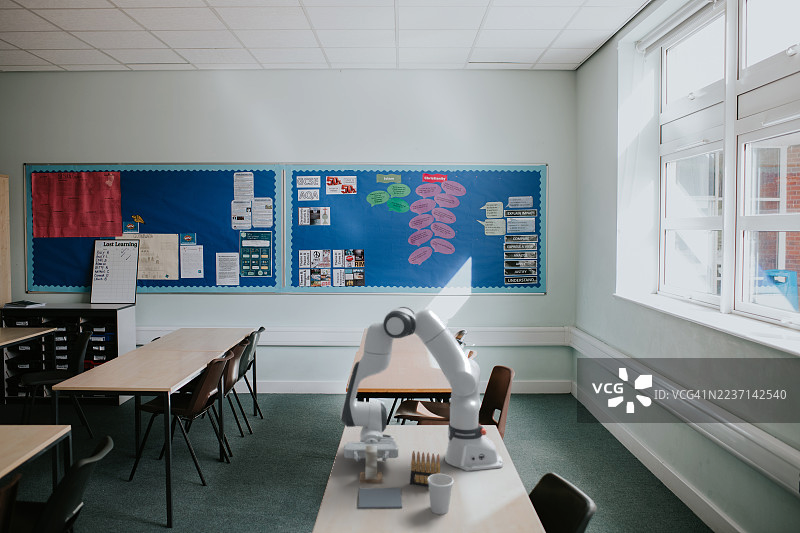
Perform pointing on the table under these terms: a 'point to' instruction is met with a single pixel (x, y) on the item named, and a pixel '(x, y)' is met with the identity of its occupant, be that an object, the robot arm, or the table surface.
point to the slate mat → (379, 498)
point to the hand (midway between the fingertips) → (371, 459)
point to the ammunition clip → (423, 469)
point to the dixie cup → (440, 492)
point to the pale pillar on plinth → (371, 467)
